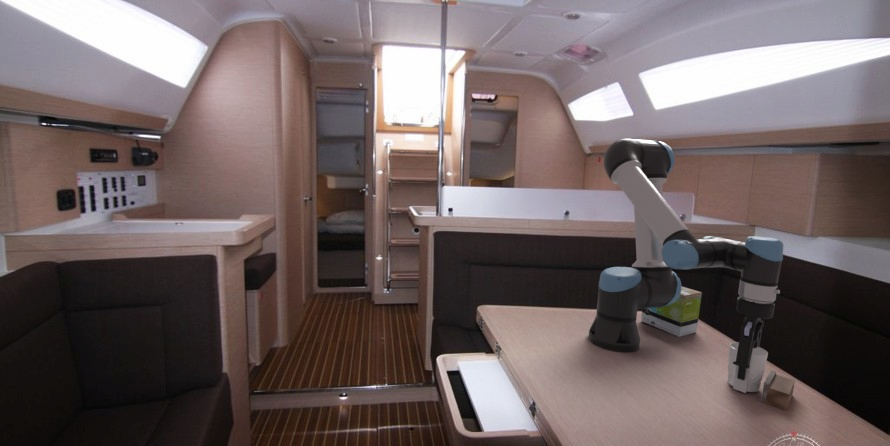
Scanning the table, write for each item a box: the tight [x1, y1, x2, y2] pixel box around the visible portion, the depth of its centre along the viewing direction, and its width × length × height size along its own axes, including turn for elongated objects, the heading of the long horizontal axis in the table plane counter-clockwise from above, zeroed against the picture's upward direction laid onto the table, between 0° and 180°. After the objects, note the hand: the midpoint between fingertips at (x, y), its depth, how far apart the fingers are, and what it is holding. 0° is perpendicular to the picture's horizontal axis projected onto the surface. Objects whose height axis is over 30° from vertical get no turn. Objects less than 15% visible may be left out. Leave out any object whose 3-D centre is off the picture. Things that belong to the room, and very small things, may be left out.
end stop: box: [760, 369, 796, 411], centre depth 103 cm, size 5×10×5 cm, turn 134°
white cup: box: [727, 341, 769, 393], centre depth 107 cm, size 8×8×10 cm
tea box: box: [640, 285, 703, 338], centre depth 146 cm, size 15×10×15 cm, turn 28°
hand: (743, 384), depth 108 cm, fingers closed on white cup, 7 cm apart
